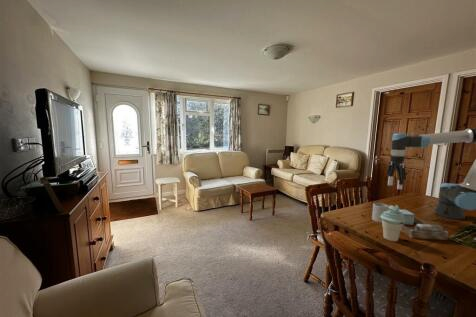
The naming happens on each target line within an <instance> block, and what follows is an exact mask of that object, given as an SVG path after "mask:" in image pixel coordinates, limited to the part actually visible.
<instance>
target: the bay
mask: <svg viewBox="0 0 476 317" xmlns="http://www.w3.org/2000/svg"><path fill="white" fill-rule="evenodd" d="M414 224H416V225H414V229H411V228H409V227H407V226H406V225H405V224H403V226H402V229H401V231H400V232H402V233H403V234H405V235H407V236H408V237H409V238H410V239H413V238H414V239H426V240H445V241H448V239H449V232H448V231H447V230H444V229H445V228H444V227H443V226H442V225H440V224H430V223H428V222H426V221H424V220H423V219H421V218H419V217H416V216H414Z"/></svg>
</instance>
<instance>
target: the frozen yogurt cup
mask: <svg viewBox="0 0 476 317" xmlns="http://www.w3.org/2000/svg"><path fill="white" fill-rule="evenodd" d="M388 206H389V207H388V208H387V209H386V210H387V212H385V211H384V213H382V215H381V216H380V217H381V218H382V223H381V225H382V234H383V235H382V236H383V238H384V239H385V240H388V241H390V242H398V241H399V238H400V235H401V234H400V233H401V232H402V231H401V229H402V226H403V225H404V224H403V222H405V221H406V220H405V218H404V214H403V213H402V211H401V210H402V209H401V210H399V209H400V207H399V206H398V205H397V204H395V205H391V204H390V205H388Z"/></svg>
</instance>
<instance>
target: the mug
mask: <svg viewBox="0 0 476 317" xmlns="http://www.w3.org/2000/svg"><path fill="white" fill-rule="evenodd" d="M387 208H389V205H388V204H386V203H382V202H373V204H372V212H371V213H372V215H371V220H372V221H374V222H376V223H380V224H382V218H381V217H380V216H381V215H382V213H384V211H385V212H387V210H386V209H387Z"/></svg>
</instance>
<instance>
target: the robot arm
mask: <svg viewBox="0 0 476 317" xmlns="http://www.w3.org/2000/svg"><path fill="white" fill-rule="evenodd" d="M452 143H467V144H470V143H471V144H473V143H475V144H476V127H471V128H466V129H464V130H456V131H446V132H435V133H426V134H425V133H424V134H415V135H408V134H407V133H405V132H404V133H402V132H401V133H400V132H399V133H393V134H392V139H391V151H390V155H391V156H390V161H389V162H388V166H387V171H386V175H387V176H388V179H387V180H388V181H387V186H393V184H394V174H395V172H396V174H397V177H398V178H397V185H396V186H397V187H396V189H397V190H403V185H404V181H406V180H407V174H406V164H403V163H404V162H405V156H406V148H428V147H429V146H430V145H439V144H441V145H442V144H452ZM437 202H438V203H437V204H436V206H435V208H433V213H434V214H435V215H437V216H439V217H441V218H442V217H443V218H445V219H452V220H458V221H459V220H465V217H466V215H465V211H464V210H467V211H475V210H476V159H475V160H474V162H473V164H472V165H471V167H470V169H469V171H468V173H467V175H465V178H464V180H463V182H461V183H450V182H449V183H448V182H443V183H441V184H440V186H439V194H438V201H437Z"/></svg>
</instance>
